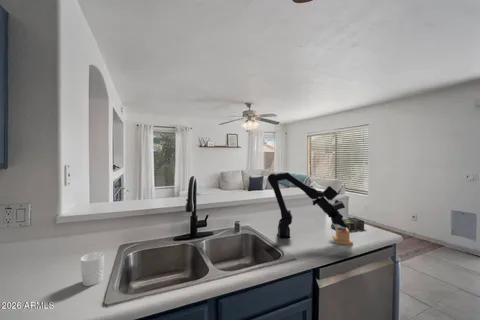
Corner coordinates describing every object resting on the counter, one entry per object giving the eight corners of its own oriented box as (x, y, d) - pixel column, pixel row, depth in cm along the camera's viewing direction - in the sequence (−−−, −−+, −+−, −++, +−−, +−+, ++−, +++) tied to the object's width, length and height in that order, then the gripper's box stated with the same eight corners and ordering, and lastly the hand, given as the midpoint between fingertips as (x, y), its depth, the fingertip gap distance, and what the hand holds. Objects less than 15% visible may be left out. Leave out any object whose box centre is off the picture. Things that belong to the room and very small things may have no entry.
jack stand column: (340, 239, 127) (340, 219, 127) (338, 237, 130) (339, 217, 130) (345, 239, 126) (346, 219, 126) (344, 237, 129) (344, 218, 129)
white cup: (108, 275, 92) (108, 251, 91) (97, 287, 84) (96, 261, 83) (89, 275, 91) (88, 252, 91) (75, 287, 83) (75, 261, 83)
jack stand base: (335, 243, 125) (335, 231, 125) (332, 237, 134) (332, 226, 133) (352, 244, 123) (353, 232, 123) (348, 238, 131) (349, 227, 131)
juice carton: (339, 232, 143) (339, 223, 142) (329, 227, 152) (329, 218, 152) (364, 230, 148) (365, 220, 148) (353, 225, 157) (353, 217, 157)
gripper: (339, 199, 119) (361, 221, 117) (332, 193, 137) (351, 212, 135) (323, 213, 121) (344, 234, 119) (319, 205, 139) (337, 224, 137)
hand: (345, 225), depth 128 cm, fingers open, 5 cm apart
